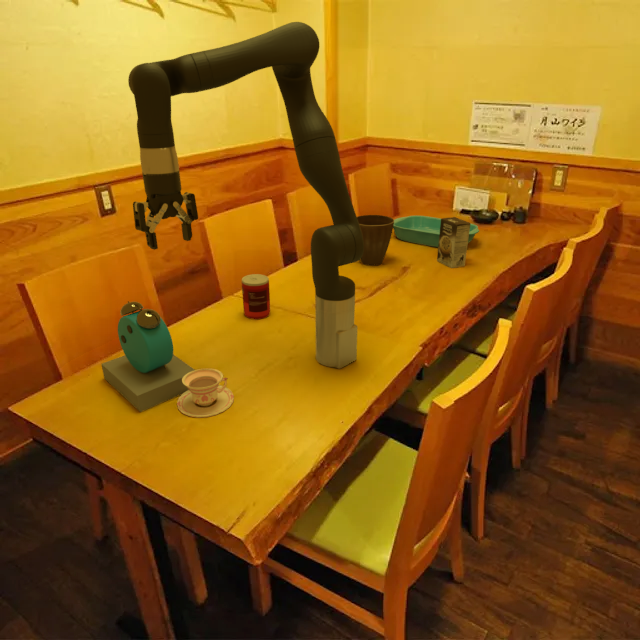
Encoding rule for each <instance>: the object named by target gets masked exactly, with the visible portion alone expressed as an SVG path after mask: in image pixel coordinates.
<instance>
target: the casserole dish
mask: <svg viewBox="0 0 640 640" xmlns="http://www.w3.org/2000/svg"><path fill="white" fill-rule="evenodd" d="M441 219H442V218H439V217H435V216H434V217H433V216H427V215H408V216H403V217H397V218H395V219H394V225H393V231H394V235H395V236H396V238H398V239H399V240H400V241H402V242H408V243H413V244H417V245H421V246H423V245H424V246H428V247H433V248H437V249H438V245H439V235H440V225H441ZM469 223H470V231H469V238H468V244H469V243H470V242H472V241H473V239H474V237H475V236H476V235H477V234H479V232H480V229H479V226H478V225H476V224H474V223H471V222H469Z"/></svg>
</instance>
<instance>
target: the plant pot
mask: <svg viewBox="0 0 640 640" xmlns="http://www.w3.org/2000/svg"><path fill="white" fill-rule="evenodd" d="M356 217H357V219H358V222H359V225H360V228H361V232H362V235H363V241H364V252H363V256H362V258H361V259H360V261H361V263H362V264H363V265H366V266H370V267H371V266H372V267H373V266H379V265H381V264H382V263H383V261H384V258H385V256H386V254H387V251H388V248H389V245H390V241H391V238H392V234H393V231H394V229H393V225H394V220H395V219H394V218H393V217H390V216H388V215H387V216H386V215H382V214H381V215H380V214H365V215H363V214H362V215H359V216H356Z"/></svg>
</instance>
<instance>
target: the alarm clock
mask: <svg viewBox="0 0 640 640" xmlns="http://www.w3.org/2000/svg"><path fill="white" fill-rule="evenodd" d="M119 312H120V316H121V317H120V318H119V320H118V323H117V336H118V340H119V344H120V346H121V347H120V348H121V349H122V351H123V353H124V355H126V357H127V359H128V360H129V362H130V363H131V365H132V366H133V367H134V368H135V369H136V370H138V371H139V372H142V373H147V372H150V371H152V370H154V369H156V368H159V367H161V366H164V367H165V369H167V367H166V364H168V363H169V362H170V361H171V360H172V357H173V355H174V342H173V339H172V336H171V332H170V331H169V328H168V326H167V323H165V321H164V319H163V318H162V316H160V314H159V312H158V311H156V310H154V309H152V308H144V306H143V304H142V303H140V302H138V301H130V300H129V301H127V303H125V304H124V305H122V306H121V309H120V311H119Z"/></svg>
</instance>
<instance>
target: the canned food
mask: <svg viewBox="0 0 640 640" xmlns="http://www.w3.org/2000/svg"><path fill="white" fill-rule="evenodd" d="M241 293H242V302H243V304H242V305H243V314H244V316H245V317H246V318H248V319H252V320H261V319H265V318H267V317H269V316H270V314H271V296H270V294H271V293H270V280H269V276H267V275H265V274H260V273H256V274H255V273H252V274H247V275H244V276H243V277H242V278H241Z"/></svg>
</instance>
